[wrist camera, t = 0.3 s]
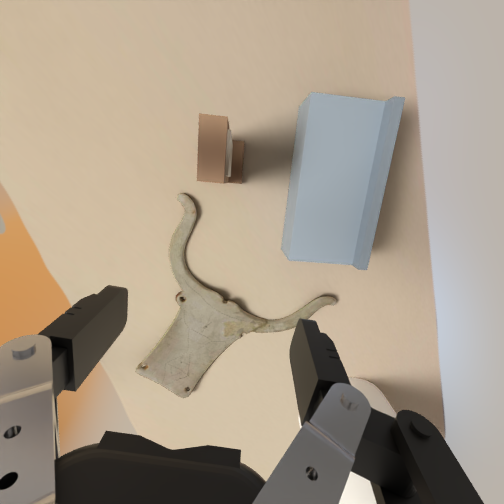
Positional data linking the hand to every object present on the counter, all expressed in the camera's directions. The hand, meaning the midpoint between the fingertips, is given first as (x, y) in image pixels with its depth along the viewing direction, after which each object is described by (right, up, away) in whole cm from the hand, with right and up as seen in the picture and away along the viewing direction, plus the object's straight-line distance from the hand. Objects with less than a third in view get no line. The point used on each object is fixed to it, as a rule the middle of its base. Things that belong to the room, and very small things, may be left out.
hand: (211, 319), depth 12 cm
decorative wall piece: (-5, -8, +32) cm, 33 cm away
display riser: (+12, +13, +26) cm, 31 cm away
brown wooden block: (-2, +16, +24) cm, 29 cm away
